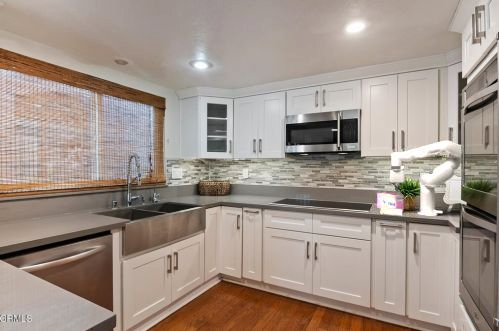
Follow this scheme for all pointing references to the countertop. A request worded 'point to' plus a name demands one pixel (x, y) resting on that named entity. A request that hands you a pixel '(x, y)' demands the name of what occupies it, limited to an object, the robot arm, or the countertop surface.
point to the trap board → (392, 211)
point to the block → (384, 206)
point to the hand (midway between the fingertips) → (397, 191)
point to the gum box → (390, 200)
